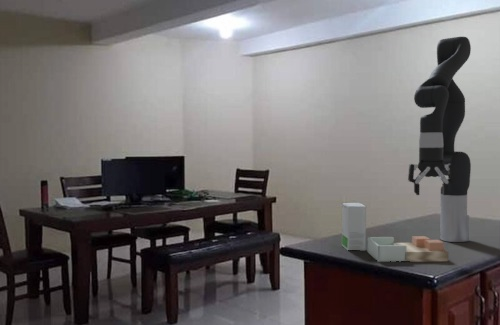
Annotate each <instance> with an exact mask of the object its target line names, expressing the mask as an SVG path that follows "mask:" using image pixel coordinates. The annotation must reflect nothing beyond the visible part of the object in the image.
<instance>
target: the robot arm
mask: <svg viewBox="0 0 500 325" xmlns="http://www.w3.org/2000/svg"><path fill="white" fill-rule="evenodd" d="M471 47H472V46H471V42H470V39H469V38H468V37H467V36H454V37H448V38H442V39H440V40H439V41H438V42H437V46H436V59H437V60H436V62H437V66H435V68H434V69H433V70H432V72H431V74H430V76H429V77H428V78H427V79H426V80H425V81H424V82H422V84H420V85H419V86H418V87H417V89H416V90H415V93H414V95H413V98H414V100H413V101H414V103H415V105H416V106H417V107H419V108H422V109H427V108H434V110H433V111H432V112H431V113H429V114H424V115H422V116H420V120H419V127H420V128H419V139H418V144H419V145H418V146H419V147H418V152H419V154H418V164H414V163H409V165H408V175H407V176H408V177H407V181H408V182H410V183H412V184H413V192H414V194H415V195H416V196H420V182H421V180H422V179H424V177H426V178H431V177H433V178H437V177H438V178H439V179H440V181H441V182H442V186H440V187H441V188H440V220H439V221H440V223H439V224H440V228H439V230H440V232H439V235H440V238H439V240H440V241H442V242H444V241H445V242H449V243H450V242H452V243H465V242H470V215H469V214H468V191H469V188H470V182H471V167H472V166H471V164H472V163H471V159H470V156H469V155H468V153H466V152H464V151H455V143H456V142H455V140H456V137H457V134H458V131H459V129H460V128H461V126H462V124H463V122H464V119H465V115H466V99H465V98H466V97H465V95H464V93H463V92H462V90H461V89H460V87H459V86H458V85H457V83H456V82H455V80H454V77H455V75H456V74H457V73H458V72H459V70H460V69H461V68H462V67H463V65H465V63H466V62H467V61H468V60H469V58H470V56H471V49H472V48H471ZM417 169H418V171H419V173H418V174H417V176H416V177H415V178H414V174H415V173H414V172H415V171H417ZM446 176H447V177H448V178H447V177H446Z"/></svg>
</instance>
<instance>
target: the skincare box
mask: <svg viewBox="0 0 500 325" xmlns="http://www.w3.org/2000/svg"><path fill="white" fill-rule="evenodd" d="M341 211H342V214H341V215H342V218H341V220H342V222H341V246H342V247H343V248H344V249H345V250H347V251H348V250H360V251H366V238H367V237H366V234H367V230H366V229H367V206H366V205H364V204H362V203H361V202H343V203H342V210H341Z"/></svg>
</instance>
